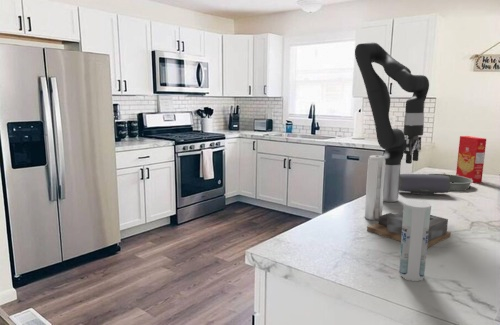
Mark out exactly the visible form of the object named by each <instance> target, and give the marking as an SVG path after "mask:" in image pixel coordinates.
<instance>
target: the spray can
mask: <svg viewBox="0 0 500 325" xmlns="http://www.w3.org/2000/svg"><path fill="white" fill-rule="evenodd" d="M402 209H403V211H402V212H403V222H402V237H401V241H400V254H399V266H398V273H399V274H400V275H399V274H398V275H399V276H400V277H401V276H402V277H403V278H402V277H401V278H402V279H404V278H405V279H404V280H407V279H408V280H407V281H410V280H412V282H419V281H418V280H421V281H423V280H424V279H423V278H425V273H426V272H425V271H426V263H427V252H428V247H427V243H428V233H429V223H430V215H431V210H432V205H431V204H430V203H428V202H425V201H421V200H406V201H404V202H403V208H402ZM422 279H423V280H422Z"/></svg>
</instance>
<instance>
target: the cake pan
mask: <svg viewBox="0 0 500 325" xmlns="http://www.w3.org/2000/svg"><path fill="white" fill-rule="evenodd" d="M429 174H430V175H443V176H448V177H449V178H450V190H449V191H466V190H468V189H469V187H470V186H471V184H472V182H473V180H471V179H469V178H466V177H462V176H457V175H456V174H455V175H454V174H446V173H429ZM452 182H454V183H452ZM465 189H466V190H465Z"/></svg>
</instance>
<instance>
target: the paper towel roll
mask: <svg viewBox="0 0 500 325" xmlns="http://www.w3.org/2000/svg"><path fill="white" fill-rule="evenodd" d="M367 158H368V159H367V171H366V172H367V173H366V186H365V187H366V189H365V206H364V218H365V219H366V220H368V221H379V216H381V215H383V207H384V204H383V203H384V201H383V193H384V178H385V163H386V159H385V157H384V156H382V155H378V154H377V155H375V154H374V155H369V157H367Z"/></svg>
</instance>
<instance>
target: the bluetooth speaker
mask: <svg viewBox="0 0 500 325" xmlns="http://www.w3.org/2000/svg"><path fill="white" fill-rule="evenodd" d="M430 174H431V173H400V181H399V192H408V193H410V194H411V195H423V194H425V196H426V195H427V196H428V195H429V196H433V195H434V194H447V193H449V192H450V191H451V190H450V183H451V182H450V178H449V177H448V176H443V175H430Z"/></svg>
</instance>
